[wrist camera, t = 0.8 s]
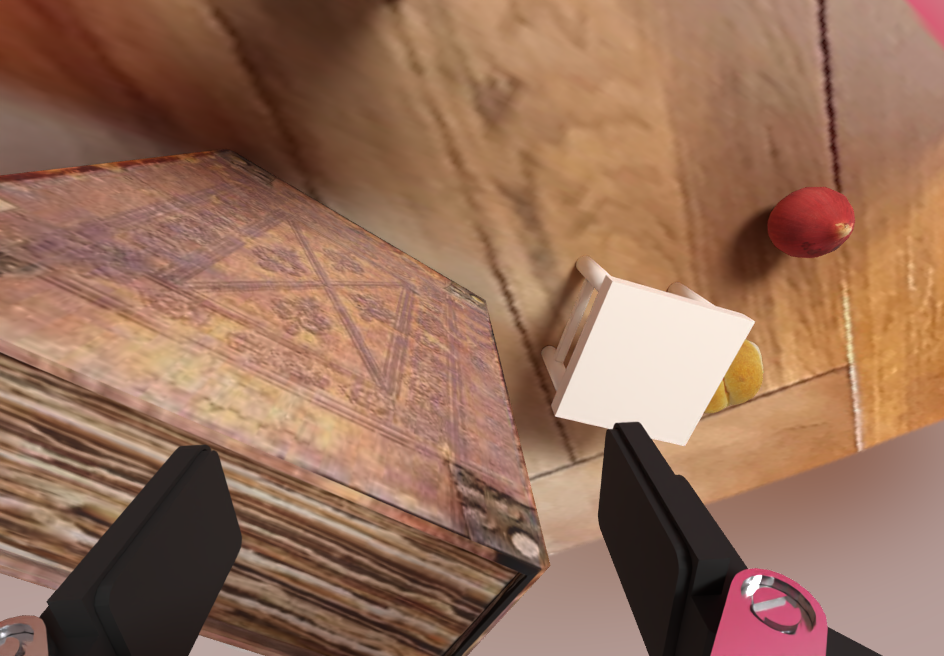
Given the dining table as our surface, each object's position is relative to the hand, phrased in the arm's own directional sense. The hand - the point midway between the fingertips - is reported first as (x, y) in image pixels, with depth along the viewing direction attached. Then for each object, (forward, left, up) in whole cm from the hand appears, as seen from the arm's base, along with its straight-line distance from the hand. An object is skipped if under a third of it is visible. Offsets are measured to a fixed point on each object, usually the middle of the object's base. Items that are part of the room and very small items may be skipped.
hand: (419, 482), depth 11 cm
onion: (-9, +30, -33) cm, 46 cm away
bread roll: (+7, +31, -34) cm, 46 cm away
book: (+7, -7, -33) cm, 35 cm away
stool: (+5, +19, -33) cm, 38 cm away
